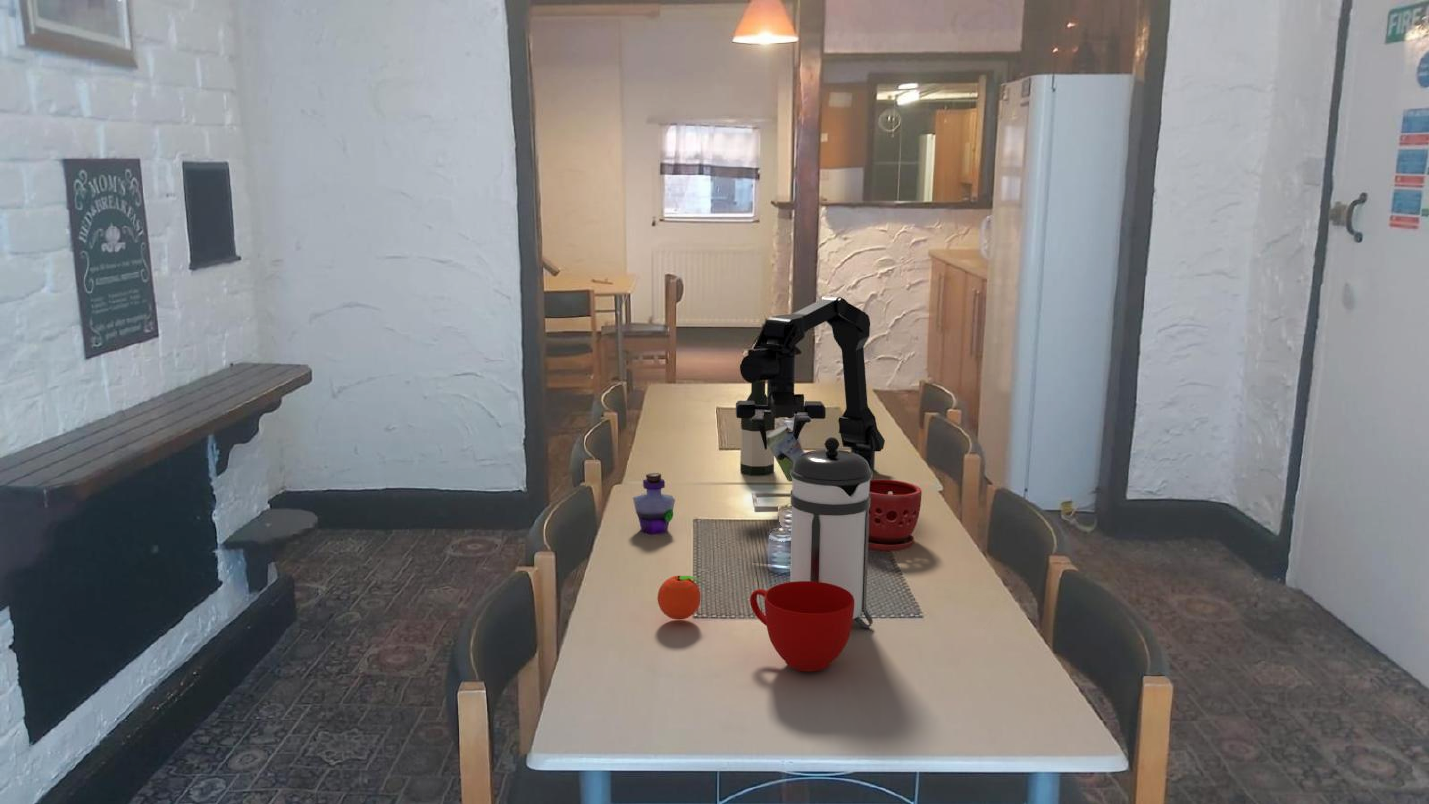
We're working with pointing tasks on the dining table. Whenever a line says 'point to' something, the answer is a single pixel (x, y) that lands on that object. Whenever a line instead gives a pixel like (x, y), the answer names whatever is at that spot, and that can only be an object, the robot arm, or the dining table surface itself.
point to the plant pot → (892, 514)
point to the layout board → (770, 508)
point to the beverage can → (784, 448)
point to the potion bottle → (654, 506)
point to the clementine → (679, 597)
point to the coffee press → (831, 521)
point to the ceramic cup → (806, 622)
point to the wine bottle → (756, 438)
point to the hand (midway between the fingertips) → (779, 449)
